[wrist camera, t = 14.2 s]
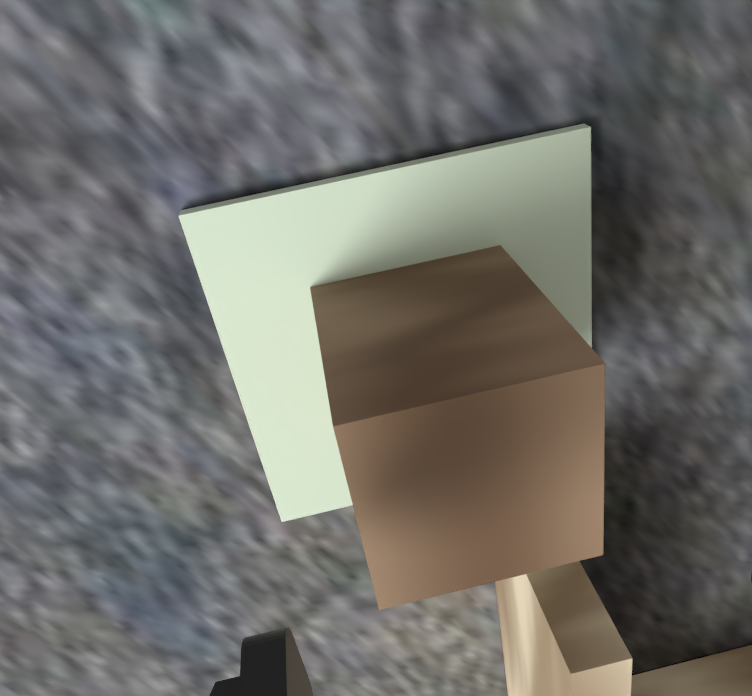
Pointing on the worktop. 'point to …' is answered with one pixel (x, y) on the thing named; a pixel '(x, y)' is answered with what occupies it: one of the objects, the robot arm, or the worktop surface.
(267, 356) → the mat
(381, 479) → the block
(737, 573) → the worktop surface
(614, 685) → the cubby
